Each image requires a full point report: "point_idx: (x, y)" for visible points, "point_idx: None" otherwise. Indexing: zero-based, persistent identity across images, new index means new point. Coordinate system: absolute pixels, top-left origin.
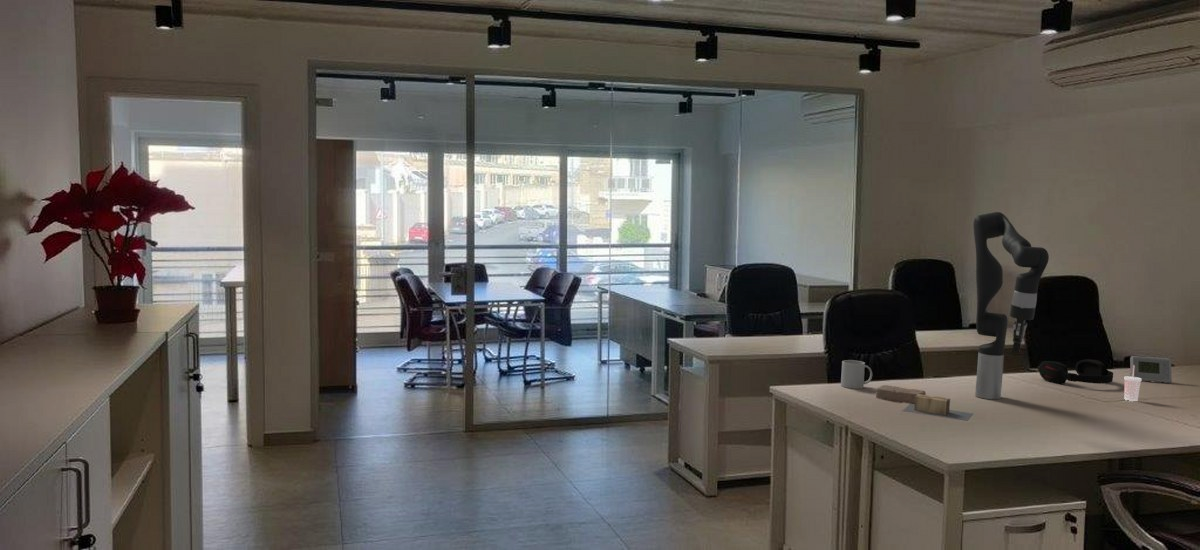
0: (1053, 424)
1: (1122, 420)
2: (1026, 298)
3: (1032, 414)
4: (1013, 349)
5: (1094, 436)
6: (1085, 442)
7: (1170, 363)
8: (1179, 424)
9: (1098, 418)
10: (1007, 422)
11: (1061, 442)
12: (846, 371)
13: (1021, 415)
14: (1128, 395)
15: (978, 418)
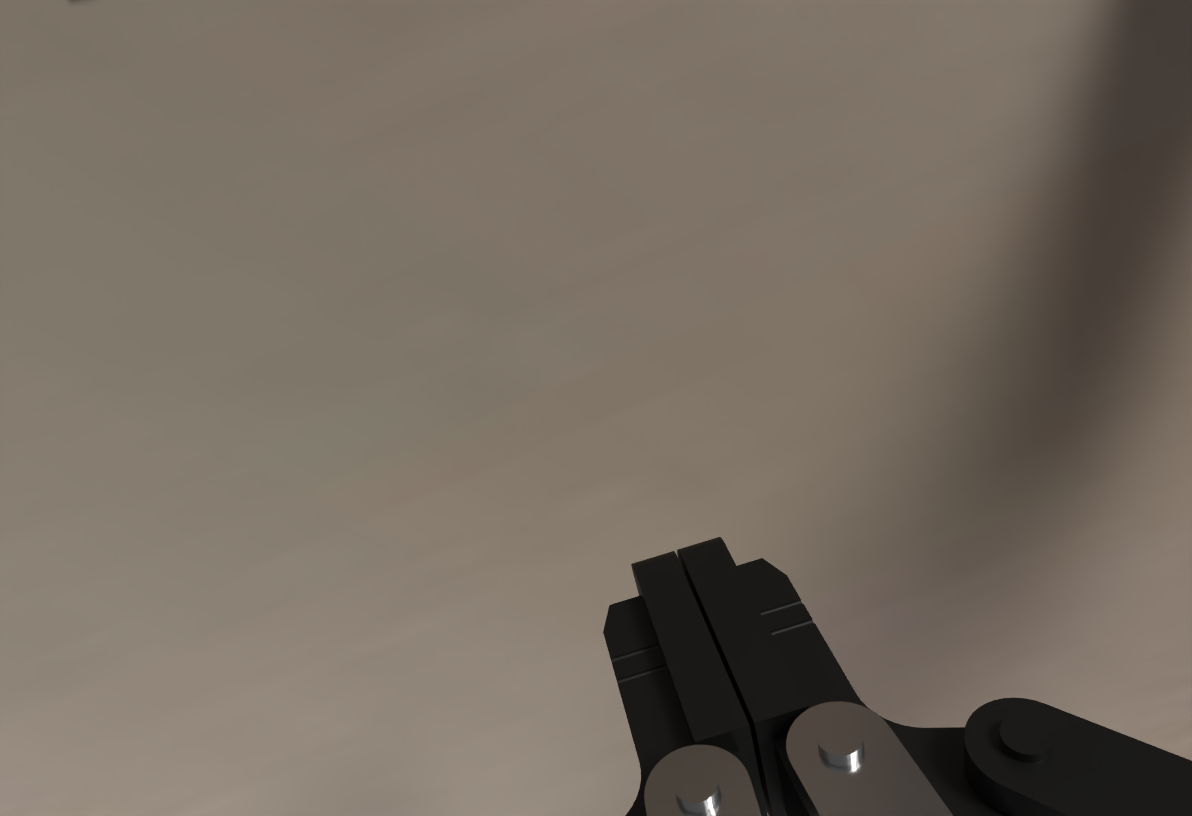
0: (674, 477)
1: (1087, 633)
2: None
3: (876, 256)
4: (652, 616)
5: (558, 735)
6: (347, 781)
7: None
8: None
9: (1053, 549)
10: (433, 250)
11: (189, 724)
12: None
13: (780, 217)
14: None
15: (340, 4)
